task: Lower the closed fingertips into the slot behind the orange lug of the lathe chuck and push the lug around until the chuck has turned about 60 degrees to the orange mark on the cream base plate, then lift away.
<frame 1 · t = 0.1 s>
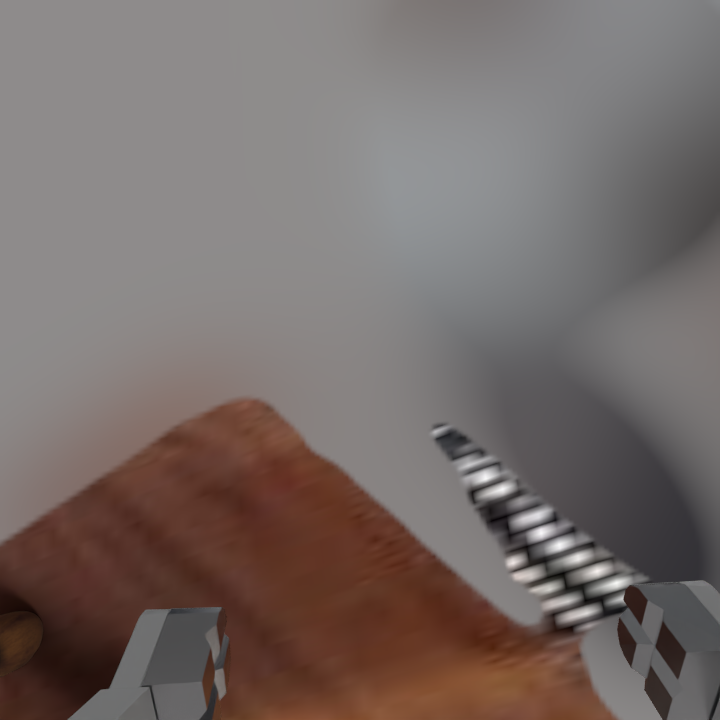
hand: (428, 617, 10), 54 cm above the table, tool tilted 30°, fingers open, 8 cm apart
wooden figurine: (25, 629, 60), on the table
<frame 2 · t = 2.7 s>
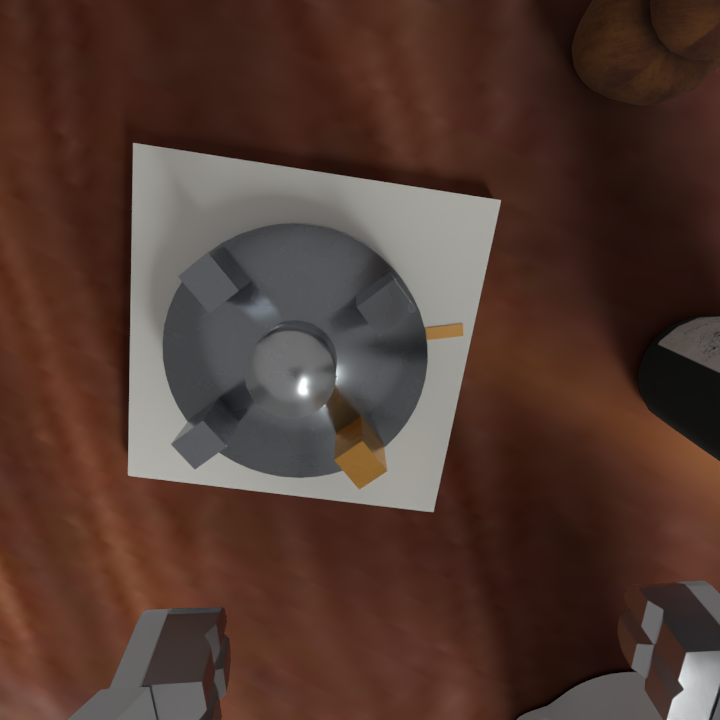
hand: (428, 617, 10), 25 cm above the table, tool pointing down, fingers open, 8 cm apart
lathe chuck: (295, 363, 30), point 5 cm above the table, hinge at 0.0°
base plate: (302, 342, 35), on the table
wooden figurine: (609, 55, 30), on the table
wine bottle: (686, 366, 36), on the table
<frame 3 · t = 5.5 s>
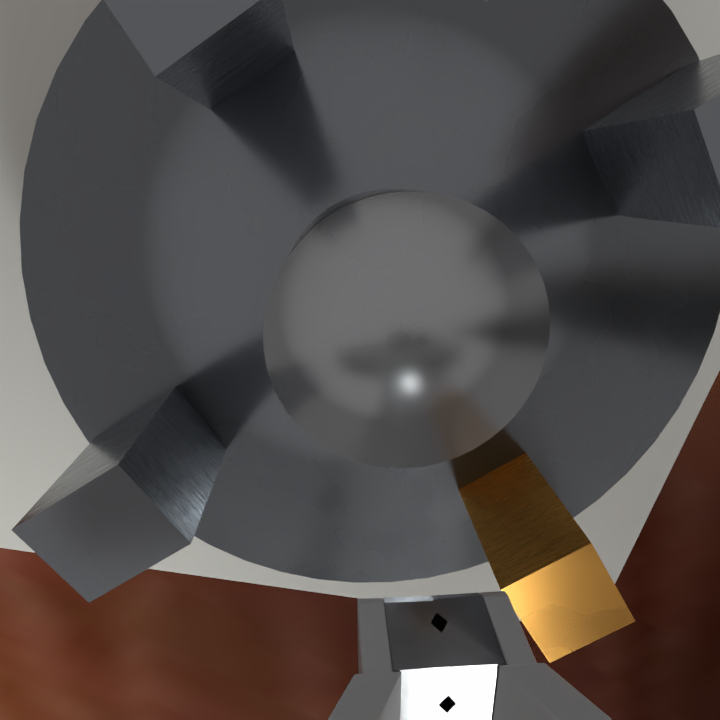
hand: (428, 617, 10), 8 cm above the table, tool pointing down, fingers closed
lathe chuck: (391, 308, 11), point 5 cm above the table, hinge at 0.0°, touching gripper
base plate: (373, 272, 16), on the table
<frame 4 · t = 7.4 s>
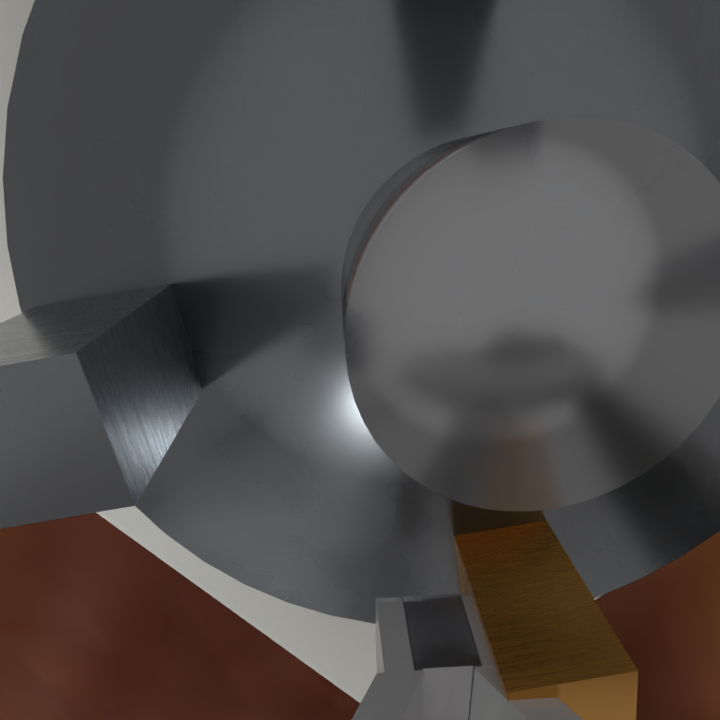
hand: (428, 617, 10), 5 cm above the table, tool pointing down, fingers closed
lathe chuck: (489, 294, 9), point 5 cm above the table, hinge at 12.1°, touching gripper
base plate: (436, 251, 13), on the table
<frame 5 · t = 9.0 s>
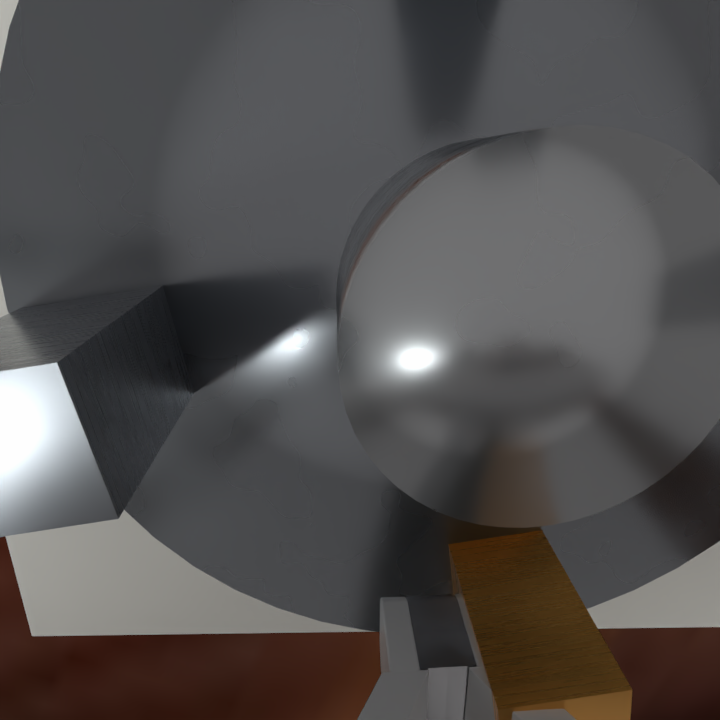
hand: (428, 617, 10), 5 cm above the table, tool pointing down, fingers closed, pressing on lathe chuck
lathe chuck: (488, 302, 8), point 5 cm above the table, hinge at 55.5°, touching gripper
base plate: (435, 253, 13), on the table
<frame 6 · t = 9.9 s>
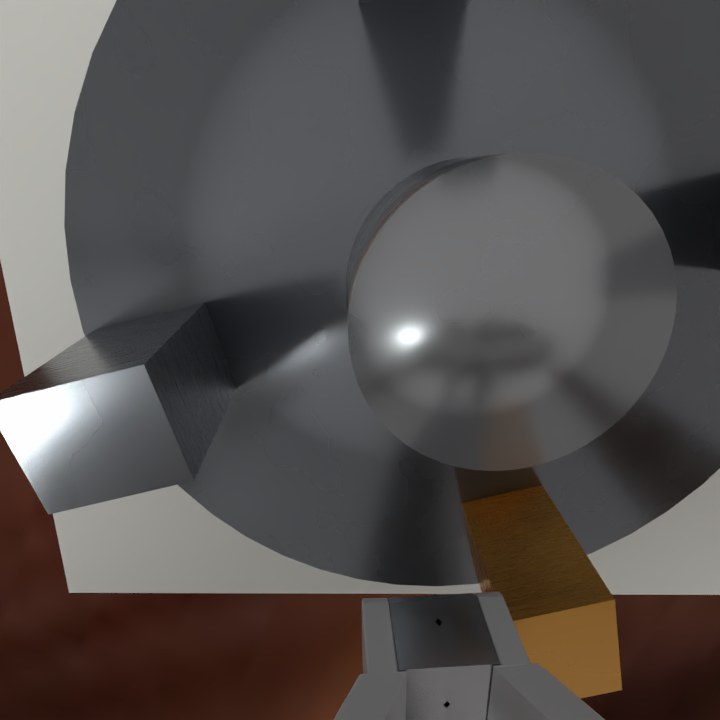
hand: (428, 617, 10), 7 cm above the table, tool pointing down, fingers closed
lathe chuck: (472, 291, 10), point 5 cm above the table, hinge at 61.2°, touching gripper
base plate: (431, 253, 14), on the table
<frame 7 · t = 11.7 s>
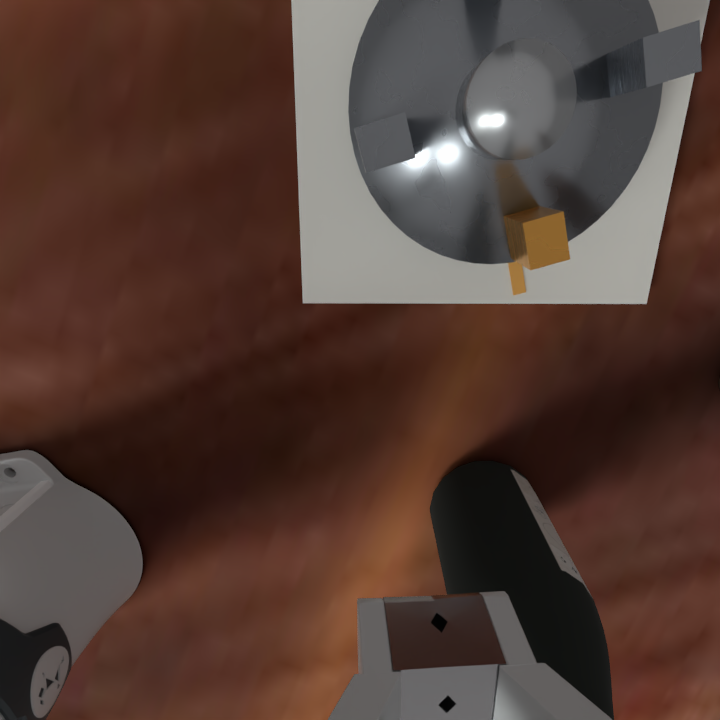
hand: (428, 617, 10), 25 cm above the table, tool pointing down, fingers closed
lathe chuck: (506, 107, 26), point 5 cm above the table, hinge at 61.2°
base plate: (485, 115, 30), on the table
wine bottle: (478, 497, 40), on the table
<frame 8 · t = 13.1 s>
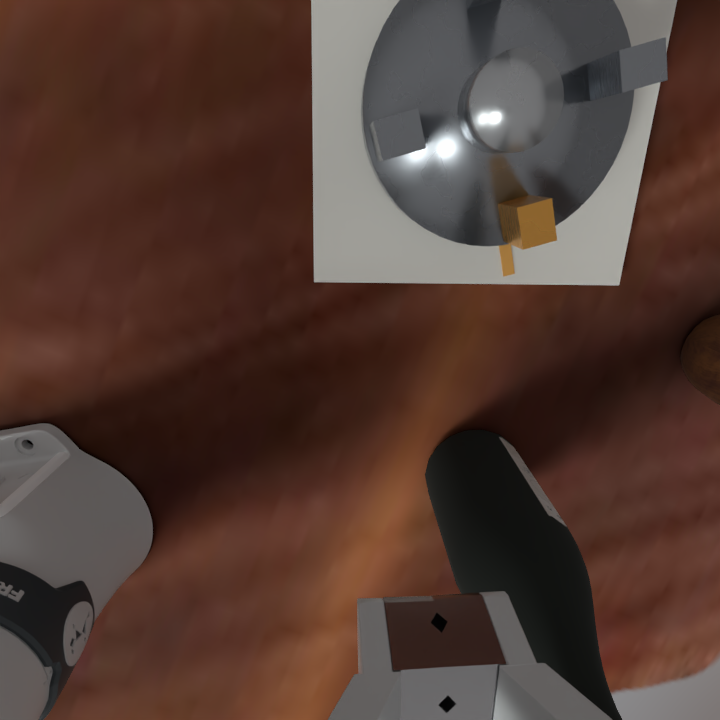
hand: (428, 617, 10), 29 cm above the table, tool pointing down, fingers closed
lathe chuck: (502, 106, 29), point 5 cm above the table, hinge at 61.2°
base plate: (479, 114, 34), on the table
wooden figurine: (703, 343, 41), on the table
wine bottle: (468, 464, 44), on the table
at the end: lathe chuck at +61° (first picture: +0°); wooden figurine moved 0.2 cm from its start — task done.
